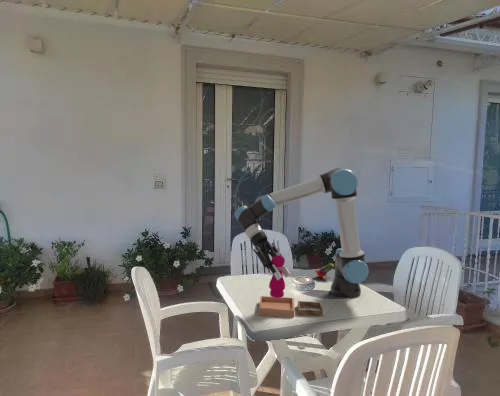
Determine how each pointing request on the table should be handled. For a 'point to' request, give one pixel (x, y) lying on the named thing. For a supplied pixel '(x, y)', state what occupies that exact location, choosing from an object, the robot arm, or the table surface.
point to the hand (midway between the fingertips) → (284, 276)
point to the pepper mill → (275, 284)
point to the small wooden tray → (309, 311)
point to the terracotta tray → (276, 306)
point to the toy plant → (324, 270)
